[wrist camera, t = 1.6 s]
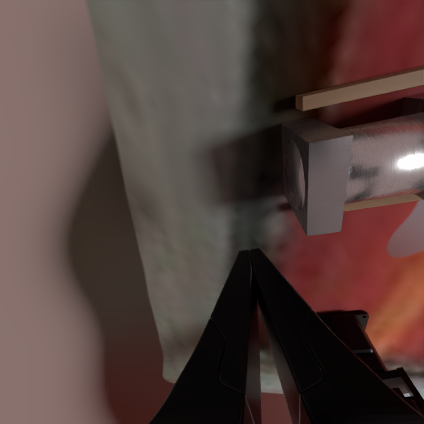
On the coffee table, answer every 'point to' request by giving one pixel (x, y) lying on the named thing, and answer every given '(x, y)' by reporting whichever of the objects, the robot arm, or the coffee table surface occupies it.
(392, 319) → the coffee table surface
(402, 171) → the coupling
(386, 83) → the cradle rails
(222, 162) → the coffee table surface
